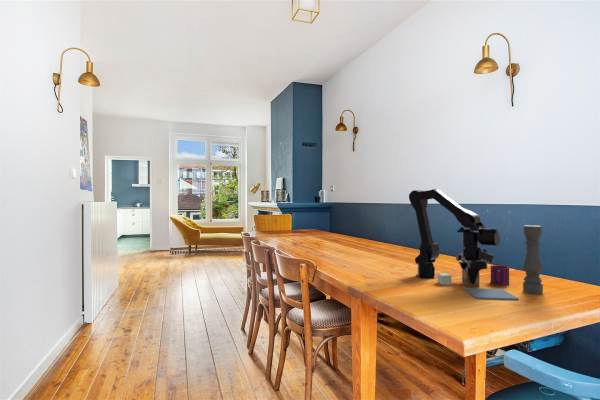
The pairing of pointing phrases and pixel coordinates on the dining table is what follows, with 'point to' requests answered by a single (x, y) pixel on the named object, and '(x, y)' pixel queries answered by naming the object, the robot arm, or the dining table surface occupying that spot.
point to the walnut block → (467, 281)
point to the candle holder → (532, 260)
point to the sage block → (444, 279)
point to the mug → (500, 275)
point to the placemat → (490, 294)
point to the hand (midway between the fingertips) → (470, 281)
